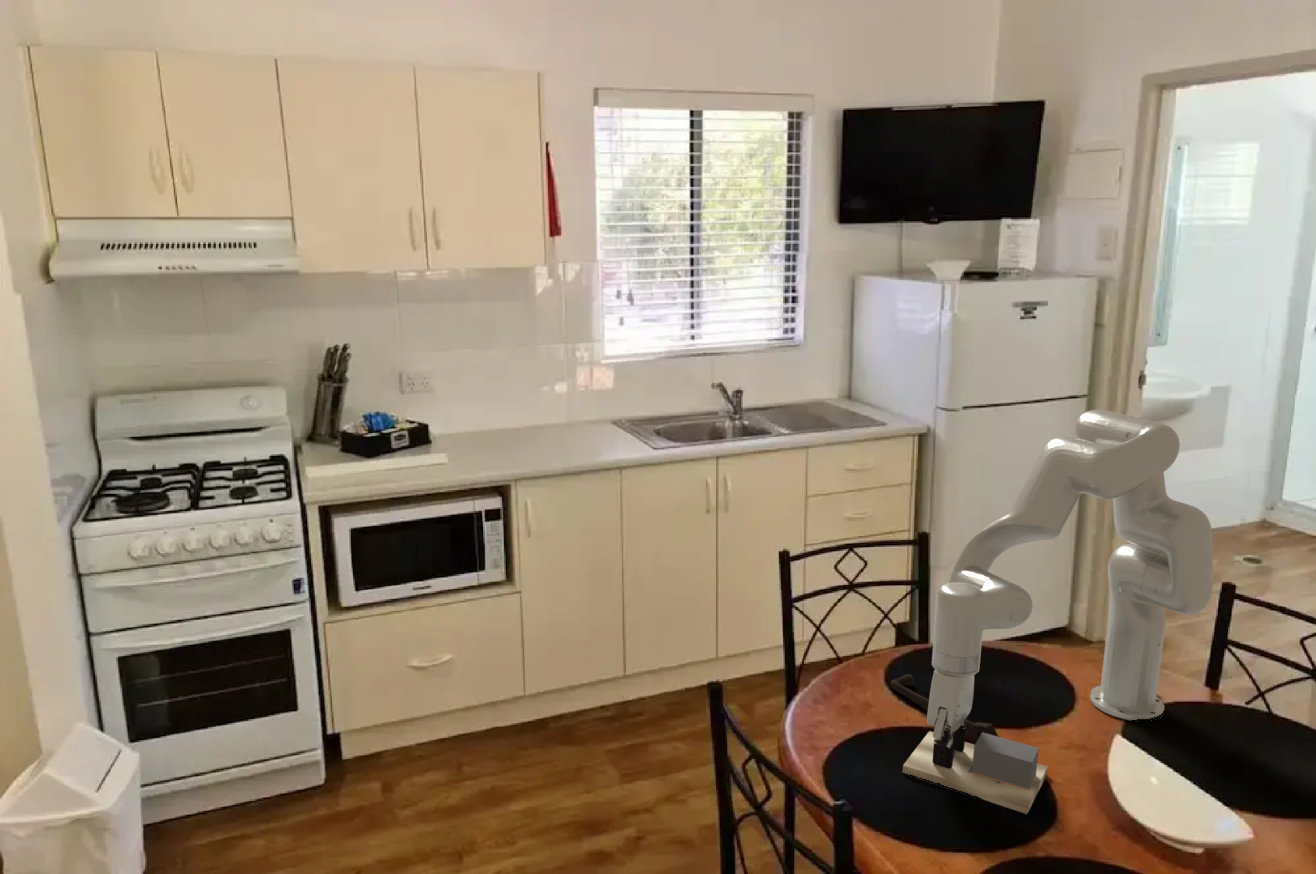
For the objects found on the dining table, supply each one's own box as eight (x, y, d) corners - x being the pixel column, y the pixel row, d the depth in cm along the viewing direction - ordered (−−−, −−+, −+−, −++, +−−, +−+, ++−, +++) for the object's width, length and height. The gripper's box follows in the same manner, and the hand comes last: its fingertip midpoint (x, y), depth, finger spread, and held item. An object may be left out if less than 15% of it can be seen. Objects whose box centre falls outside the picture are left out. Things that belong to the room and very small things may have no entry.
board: (928, 738, 172) (929, 731, 172) (1046, 774, 161) (1047, 766, 161) (902, 773, 162) (903, 765, 161) (1027, 814, 151) (1027, 805, 151)
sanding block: (979, 759, 163) (982, 732, 162) (1035, 775, 159) (1038, 748, 157) (971, 773, 159) (974, 746, 158) (1029, 790, 154) (1032, 762, 153)
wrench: (909, 690, 193) (1021, 755, 166) (888, 696, 191) (998, 763, 164) (908, 665, 192) (1021, 727, 165) (887, 672, 190) (998, 735, 163)
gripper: (950, 634, 168) (942, 728, 173) (915, 672, 155) (908, 774, 159) (994, 644, 164) (985, 741, 169) (962, 685, 151) (954, 789, 155)
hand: (948, 756), depth 164 cm, fingers open, 5 cm apart
